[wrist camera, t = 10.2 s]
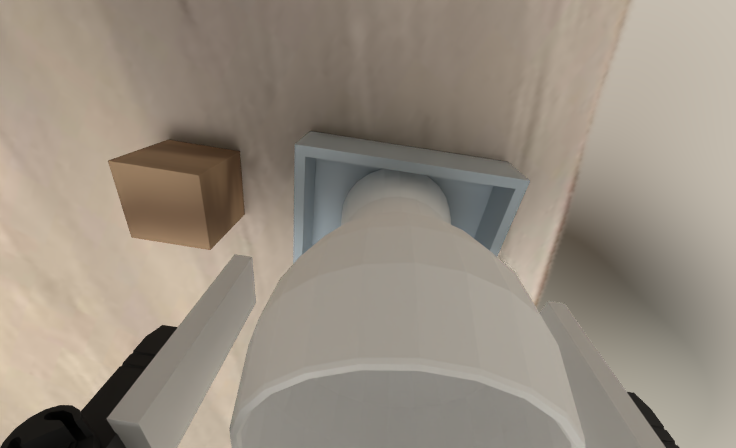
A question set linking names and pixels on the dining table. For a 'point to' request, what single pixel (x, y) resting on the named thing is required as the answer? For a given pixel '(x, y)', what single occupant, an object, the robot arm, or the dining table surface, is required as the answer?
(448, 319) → the cup
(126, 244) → the dining table surface
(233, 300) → the robot arm
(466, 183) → the tray
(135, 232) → the walnut cube
